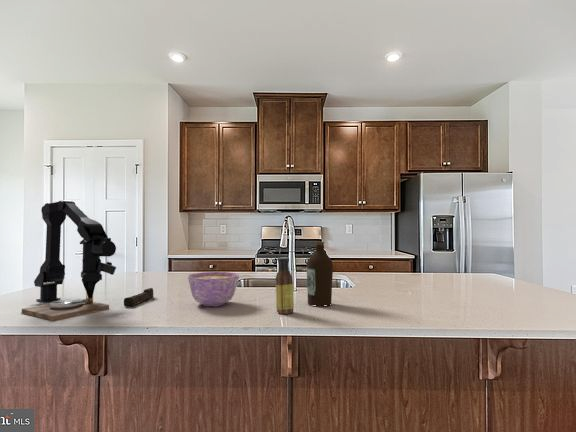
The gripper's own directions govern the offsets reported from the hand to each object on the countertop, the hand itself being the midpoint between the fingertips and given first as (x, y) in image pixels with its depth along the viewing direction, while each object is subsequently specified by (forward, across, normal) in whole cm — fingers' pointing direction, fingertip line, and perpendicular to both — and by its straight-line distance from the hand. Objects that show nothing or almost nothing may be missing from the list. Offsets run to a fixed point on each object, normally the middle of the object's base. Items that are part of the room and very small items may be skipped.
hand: (90, 298), depth 136 cm
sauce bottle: (+6, -41, -60) cm, 73 cm away
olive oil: (+5, -36, -79) cm, 87 cm away
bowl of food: (+5, -15, -42) cm, 45 cm away
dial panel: (+4, 0, +8) cm, 8 cm away
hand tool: (+4, +3, -18) cm, 19 cm away
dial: (+2, +1, +6) cm, 6 cm away
